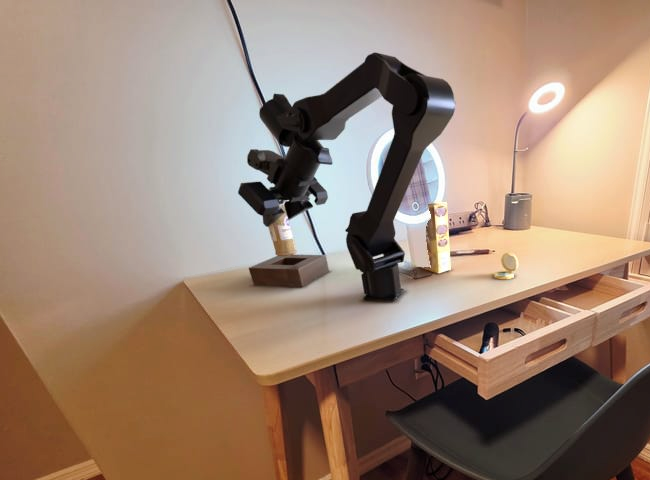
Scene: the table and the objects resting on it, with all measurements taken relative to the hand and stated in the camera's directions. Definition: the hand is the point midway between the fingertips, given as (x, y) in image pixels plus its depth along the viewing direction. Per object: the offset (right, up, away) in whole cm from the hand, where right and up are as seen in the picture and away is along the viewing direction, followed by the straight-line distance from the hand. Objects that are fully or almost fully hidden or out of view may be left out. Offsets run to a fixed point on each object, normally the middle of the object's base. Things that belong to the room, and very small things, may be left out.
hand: (273, 223), depth 81 cm
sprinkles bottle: (+1, -6, +3) cm, 7 cm away
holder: (+2, -11, +6) cm, 12 cm away
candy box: (+34, -8, +10) cm, 36 cm away
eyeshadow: (+51, -11, +4) cm, 52 cm away
